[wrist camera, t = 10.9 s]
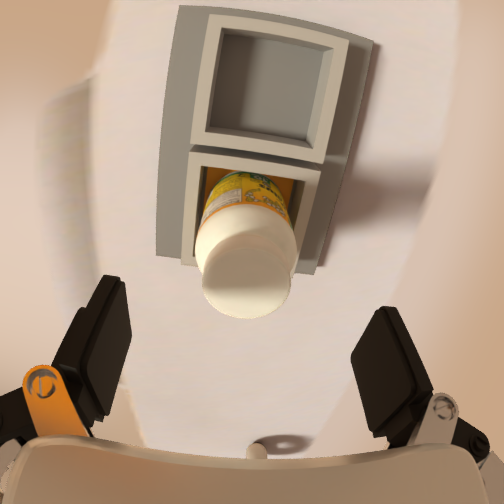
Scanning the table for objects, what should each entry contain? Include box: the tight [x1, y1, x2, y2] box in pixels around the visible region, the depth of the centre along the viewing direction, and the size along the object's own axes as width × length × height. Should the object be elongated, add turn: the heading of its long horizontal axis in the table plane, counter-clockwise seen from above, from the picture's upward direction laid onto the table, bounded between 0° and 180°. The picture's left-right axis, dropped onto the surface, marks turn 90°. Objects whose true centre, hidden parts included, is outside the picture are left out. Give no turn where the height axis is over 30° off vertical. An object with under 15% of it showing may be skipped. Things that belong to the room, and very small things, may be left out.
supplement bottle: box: [195, 171, 297, 319], centre depth 18 cm, size 5×5×10 cm
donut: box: [246, 443, 267, 459], centre depth 41 cm, size 10×4×10 cm, turn 179°
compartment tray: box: [156, 5, 373, 278], centre depth 19 cm, size 19×13×4 cm
